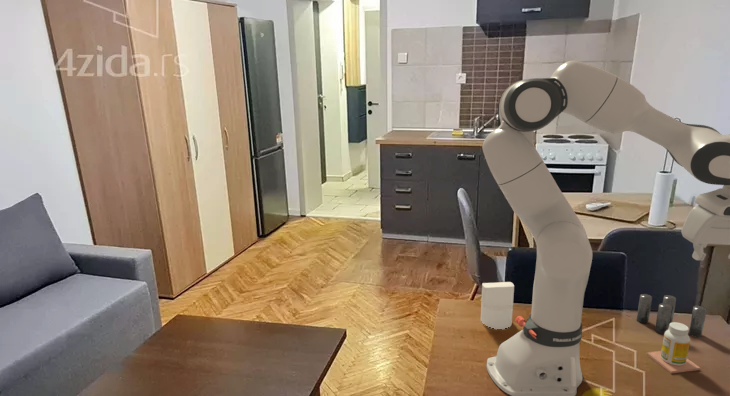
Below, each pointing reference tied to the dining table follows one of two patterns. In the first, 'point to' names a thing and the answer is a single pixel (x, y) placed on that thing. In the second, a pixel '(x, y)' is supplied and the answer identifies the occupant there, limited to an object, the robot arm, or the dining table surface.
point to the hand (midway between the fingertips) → (715, 259)
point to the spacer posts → (670, 315)
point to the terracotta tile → (673, 368)
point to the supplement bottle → (675, 344)
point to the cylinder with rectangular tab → (497, 304)
